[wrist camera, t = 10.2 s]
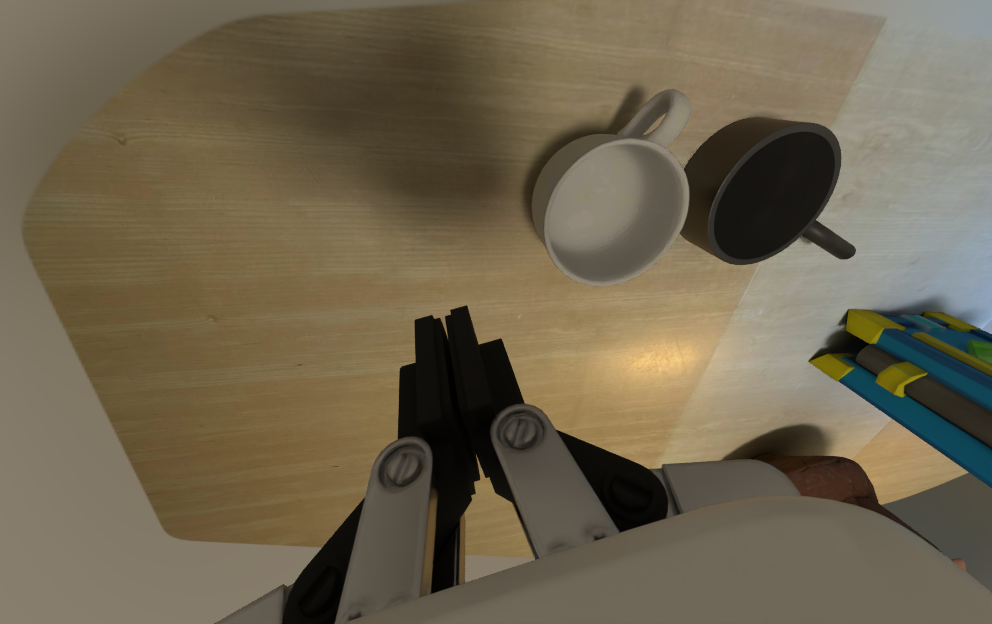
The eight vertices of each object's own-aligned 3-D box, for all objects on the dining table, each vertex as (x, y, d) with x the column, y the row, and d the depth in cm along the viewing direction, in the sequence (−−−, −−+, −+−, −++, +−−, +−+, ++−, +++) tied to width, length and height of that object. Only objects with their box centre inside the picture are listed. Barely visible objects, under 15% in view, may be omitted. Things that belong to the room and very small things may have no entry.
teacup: (578, 267, 36) (615, 309, 29) (494, 210, 31) (516, 245, 24) (681, 144, 31) (754, 161, 24) (602, 53, 26) (666, 43, 19)
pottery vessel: (671, 505, 71) (806, 727, 47) (747, 420, 59) (987, 661, 34) (760, 499, 79) (917, 687, 55) (845, 423, 67) (1097, 622, 42)
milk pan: (735, 90, 29) (789, 92, 25) (856, 189, 37) (911, 202, 33) (648, 220, 34) (681, 239, 30) (770, 283, 42) (809, 304, 38)
